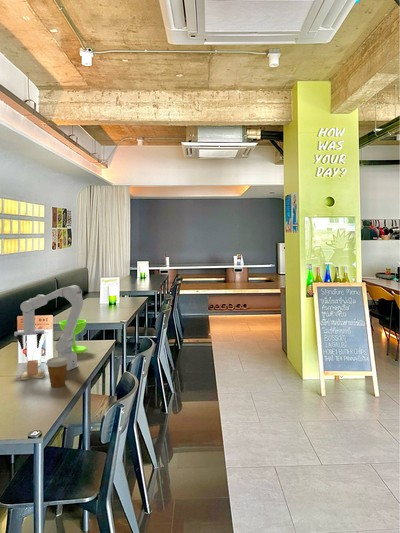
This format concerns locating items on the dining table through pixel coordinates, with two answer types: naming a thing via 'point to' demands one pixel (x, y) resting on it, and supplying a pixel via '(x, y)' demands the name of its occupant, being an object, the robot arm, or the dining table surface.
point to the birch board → (39, 375)
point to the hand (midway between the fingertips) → (30, 348)
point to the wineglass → (78, 329)
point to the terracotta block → (32, 367)
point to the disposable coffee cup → (57, 371)
